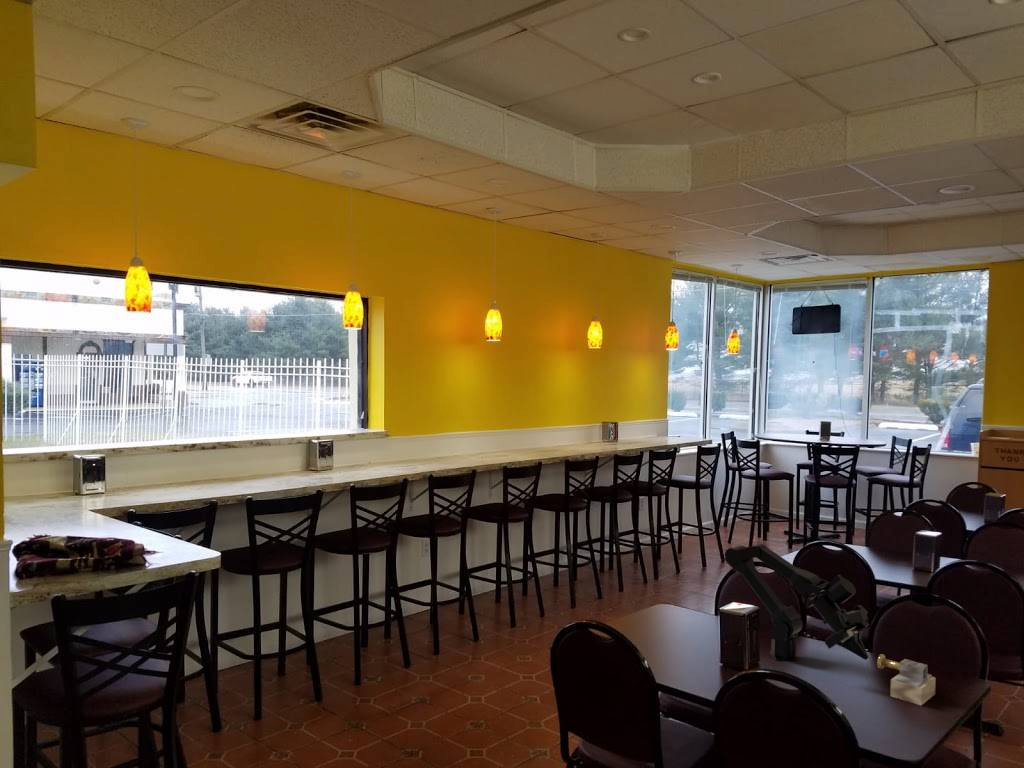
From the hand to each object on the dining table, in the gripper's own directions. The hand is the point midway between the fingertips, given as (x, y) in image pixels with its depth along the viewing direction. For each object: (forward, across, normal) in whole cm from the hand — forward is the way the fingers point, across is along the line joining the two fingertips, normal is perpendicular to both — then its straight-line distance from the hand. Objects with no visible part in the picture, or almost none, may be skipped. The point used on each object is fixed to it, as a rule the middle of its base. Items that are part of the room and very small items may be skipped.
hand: (867, 658), depth 223 cm
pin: (+7, 0, -5) cm, 8 cm away
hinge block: (+14, 0, -4) cm, 14 cm away
